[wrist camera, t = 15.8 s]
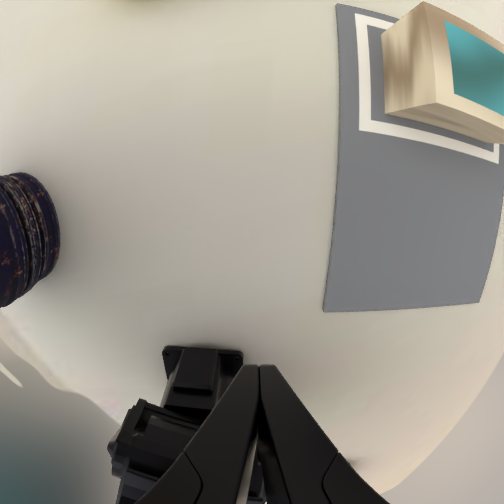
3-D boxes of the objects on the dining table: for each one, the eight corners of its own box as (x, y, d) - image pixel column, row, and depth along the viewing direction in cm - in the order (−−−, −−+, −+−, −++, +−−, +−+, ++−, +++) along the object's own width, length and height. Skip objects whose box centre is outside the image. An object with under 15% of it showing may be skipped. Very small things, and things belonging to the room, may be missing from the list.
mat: (476, 300, 20) (479, 302, 20) (322, 309, 20) (323, 312, 20) (498, 67, 13) (501, 66, 12) (335, 5, 13) (337, 3, 13)
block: (532, 66, 8) (483, 74, 13) (423, 1, 8) (380, 34, 13) (540, 148, 10) (486, 142, 15) (436, 102, 10) (384, 113, 15)
